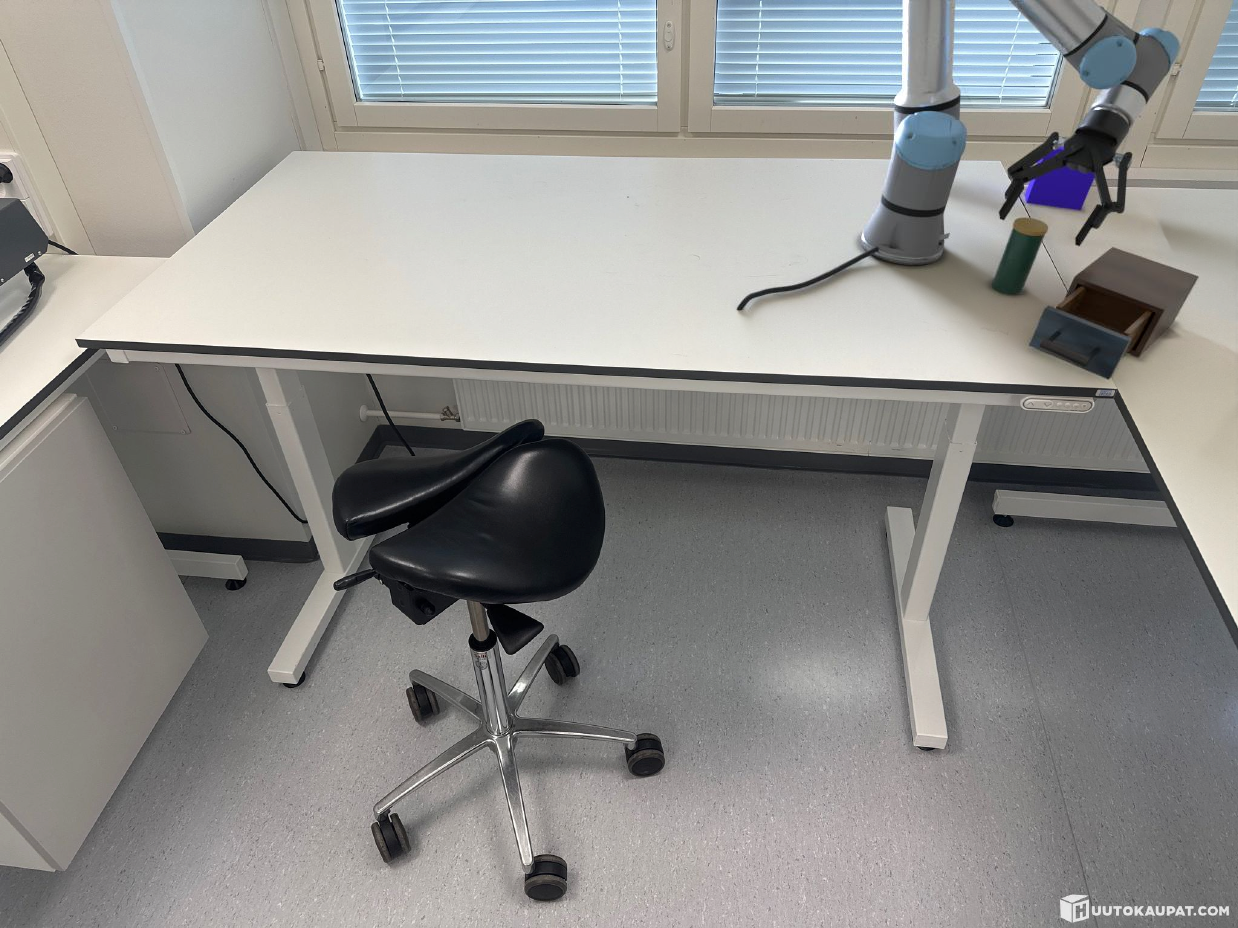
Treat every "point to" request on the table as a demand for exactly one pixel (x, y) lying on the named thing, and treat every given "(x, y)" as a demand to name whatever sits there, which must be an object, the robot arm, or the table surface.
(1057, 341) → the drawer
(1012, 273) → the tea tin
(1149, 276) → the cabinet
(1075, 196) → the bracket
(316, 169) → the table surface
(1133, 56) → the robot arm
